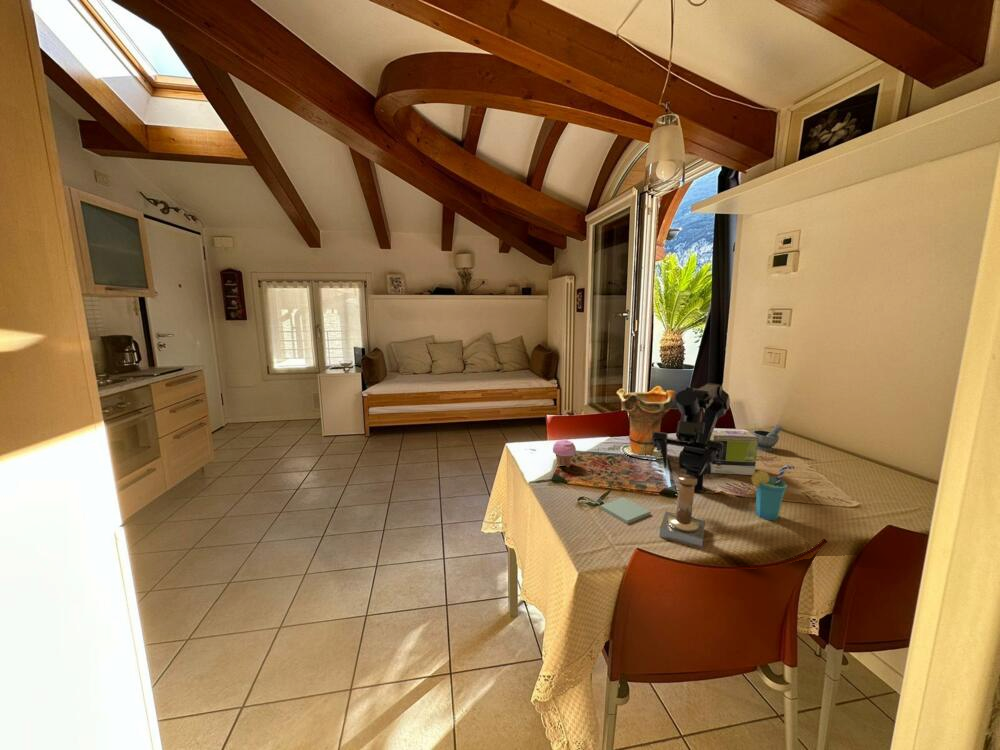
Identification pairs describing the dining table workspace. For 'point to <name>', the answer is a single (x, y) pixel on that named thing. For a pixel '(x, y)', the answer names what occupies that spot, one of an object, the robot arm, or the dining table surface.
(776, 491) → the cup
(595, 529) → the dining table surface
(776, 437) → the mortar and pestle
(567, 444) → the cupcake
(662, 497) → the dining table surface
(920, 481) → the dining table surface
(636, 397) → the decorative vase
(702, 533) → the bore block
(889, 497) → the dining table surface
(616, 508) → the pad
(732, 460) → the tea box
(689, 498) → the metallic flared cylinder
